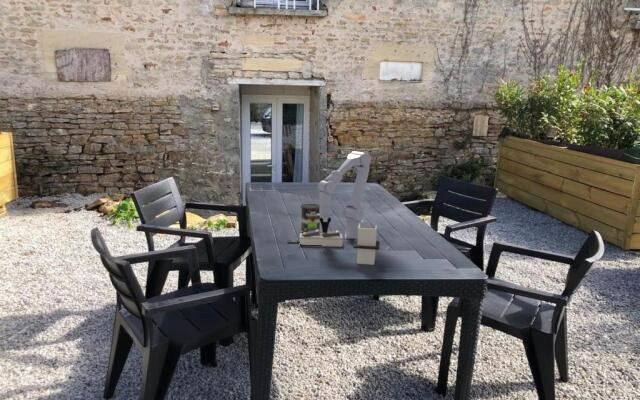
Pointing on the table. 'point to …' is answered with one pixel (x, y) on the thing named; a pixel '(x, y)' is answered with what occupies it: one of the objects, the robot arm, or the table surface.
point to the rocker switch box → (321, 240)
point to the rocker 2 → (331, 233)
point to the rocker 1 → (311, 233)
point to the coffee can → (310, 217)
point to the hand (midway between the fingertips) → (324, 232)
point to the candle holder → (366, 245)
